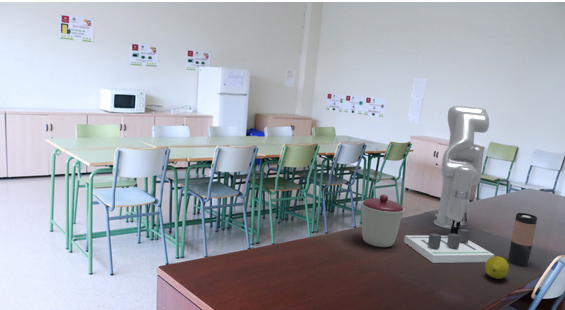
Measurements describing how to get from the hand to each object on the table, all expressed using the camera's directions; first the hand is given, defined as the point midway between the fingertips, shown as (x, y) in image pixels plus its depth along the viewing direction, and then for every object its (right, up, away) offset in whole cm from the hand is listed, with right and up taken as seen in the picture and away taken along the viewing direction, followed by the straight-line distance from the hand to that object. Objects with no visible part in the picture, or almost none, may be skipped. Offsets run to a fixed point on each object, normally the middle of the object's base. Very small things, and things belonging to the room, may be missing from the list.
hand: (454, 234), depth 199 cm
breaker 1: (-14, -2, -16) cm, 22 cm away
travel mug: (+20, -9, -15) cm, 27 cm away
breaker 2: (-6, -2, -14) cm, 15 cm away
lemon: (+2, -10, -33) cm, 35 cm away
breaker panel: (-7, -5, -10) cm, 13 cm away
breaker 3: (+1, -2, -5) cm, 6 cm away
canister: (-35, -2, -8) cm, 36 cm away
